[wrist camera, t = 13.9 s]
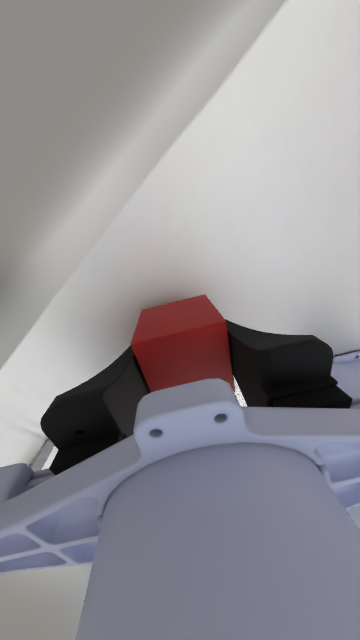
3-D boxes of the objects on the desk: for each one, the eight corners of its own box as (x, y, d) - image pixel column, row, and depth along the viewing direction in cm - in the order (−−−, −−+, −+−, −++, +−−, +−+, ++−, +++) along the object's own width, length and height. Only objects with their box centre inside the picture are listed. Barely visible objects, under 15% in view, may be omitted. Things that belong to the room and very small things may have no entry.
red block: (205, 294, 13) (226, 320, 9) (214, 347, 15) (235, 391, 11) (141, 309, 13) (129, 344, 9) (159, 360, 15) (157, 410, 11)
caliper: (52, 432, 23) (14, 495, 17) (60, 435, 23) (26, 497, 18) (-5, 501, 28) (-48, 566, 22) (2, 502, 29) (-38, 567, 23)
